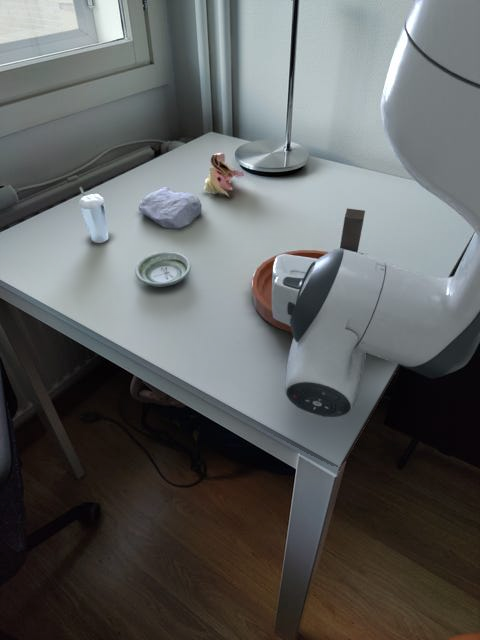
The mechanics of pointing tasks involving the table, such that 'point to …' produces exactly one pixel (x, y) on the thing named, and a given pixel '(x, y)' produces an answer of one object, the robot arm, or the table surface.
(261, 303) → the bowl
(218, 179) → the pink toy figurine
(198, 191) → the table surface
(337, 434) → the table surface
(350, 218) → the dark brown tall block
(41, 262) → the table surface
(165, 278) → the saucer
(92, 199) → the milkshake
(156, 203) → the stone block
